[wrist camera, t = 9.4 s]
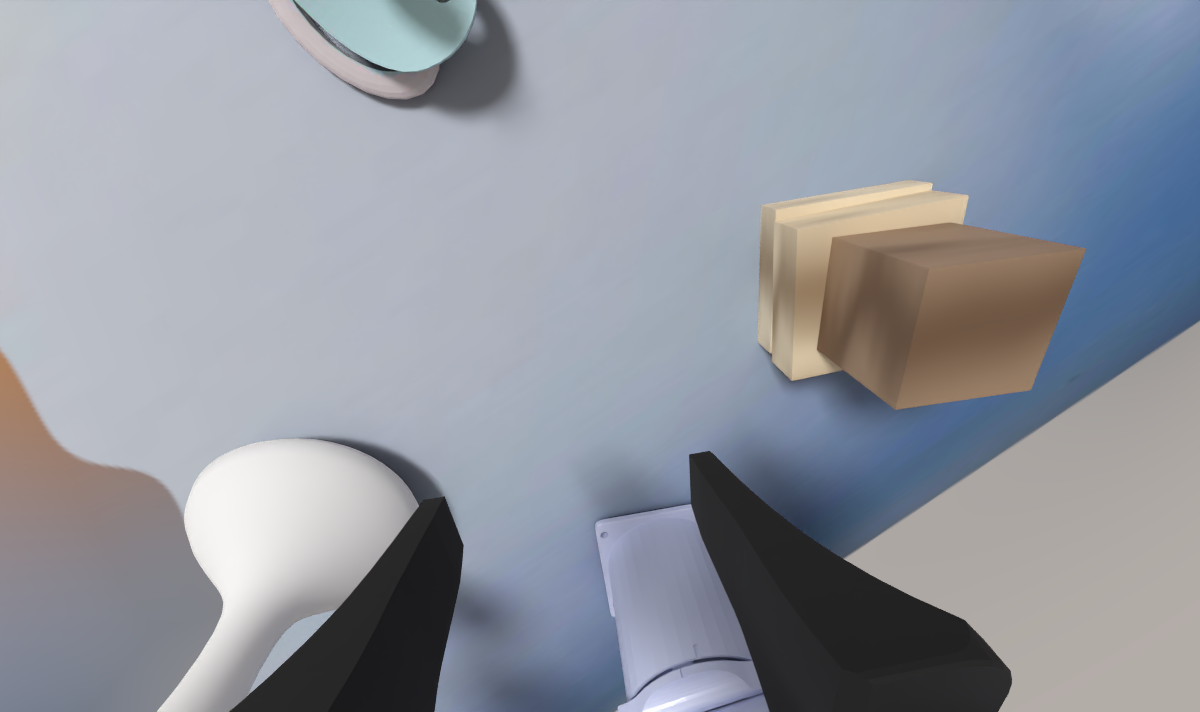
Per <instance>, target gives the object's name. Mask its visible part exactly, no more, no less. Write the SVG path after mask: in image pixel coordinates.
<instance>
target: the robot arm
mask: <svg viewBox="0 0 1200 712" xmlns="http://www.w3.org/2000/svg"><path fill="white" fill-rule="evenodd" d="M689 462H690V487H691V504H688V505H682V506H676V507H671V508H665V509H659V510H654V511H648V512H642V513H637V514H631V515H625V516H620V517H614V518H608V519H603V520H599V521H598V522H596V524H595V531H596V536H597V542H598V547H599V552H600V558H601V563H602V569H603V574H604V580H605V585H606V590H607V596H608V601H609V607H610V612H611V615H612V616H613V617H615V618H616V625H617V632H618V639H619V646H620V653H621V660H622V667H623V674H624V681H625V688H626V695H627V703H624V704H622V705H619V706H618V712H998V711H999V709H1000V707H1001V705H1002V704H1003V702H1004V700H1005V698H1006V697H1007V695H1008V693H1009V690H1010V687H1011V684H1012V677H1011V671H1010V670H1009V668H1008V667H1007V666H1006V665H1005V664H1004V663H1003V662H1002V660H1001V659H1000V658H999V657H998V656H997V655H996V653H995V652H994V651H993V650H992V649H991V647H990V646H989V645H988V644H987V643H986V642H985V641H984V639H983V638H982V637H981V636H980V635H979V634H978V633H977V632H976V631H975V630H973V628H972V627H971V626H970V625H969V624H968V623H967V622H966V621H965V620H963V619H961V618H959V617H957V616H954V615H952V614H950V613H948V612H946V611H943V610H941V609H939V608H937V607H934V606H932V605H930V604H928V603H925V602H923V601H921V600H919V599H916V598H914V597H912V596H910V595H908V594H906V593H904V592H902V591H900V590H898V589H896V588H894V587H892V586H891V585H888V584H887V583H885V582H883V581H881V580H879V579H877V578H875V577H873V576H871V575H870V574H868V573H866V572H865V571H863V570H861V569H859V568H858V567H856V566H854V565H853V564H851V563H849V562H847V561H846V560H844V559H842V558H841V557H839V556H837V555H836V554H834V553H833V552H831V551H829V550H828V549H826V548H825V547H823V546H822V545H820V544H819V543H817V542H816V541H814V540H813V539H811V538H810V537H809V536H807V535H806V534H804V533H803V532H802V531H800V530H799V529H797V528H796V527H795V526H793V525H792V524H791V523H789V522H788V521H787V520H786V519H784V518H783V517H782V516H781V515H779V514H778V513H777V512H776V511H774V510H773V509H772V508H771V507H770V506H768V505H767V504H766V503H765V502H764V501H762V500H761V499H760V498H759V497H758V496H757V495H756V494H754V493H753V492H752V491H751V490H750V489H749V488H748V487H747V486H746V485H744V484H743V483H742V482H741V481H740V480H739V479H738V478H737V477H736V476H735V475H734V474H733V473H732V472H731V471H730V470H729V469H728V468H727V467H726V466H725V465H724V464H723V463H722V462H721V461H720V460H719V459H718V458H717V457H716V456H715V455H714V454H713V453H711V452H710V451H707V452H701V453H695V454H690V455H689ZM603 532H606V533H603ZM463 546H464V545H463V543H462V540H461V538H460V535H459V533H458V530H457V527H456V525H455V522H454V520H453V517H452V515H451V512H450V510H449V507H448V504H447V502H446V499H445V497H440V498H434V499H428V500H423V502H422V503H421V504H420V505H419V507H418V508H417V509H416V511H415V512H414V513H413V515H412V516H411V517H410V519H409V520H408V521H407V523H406V524H405V525H404V527H403V528H402V529H401V531H400V532H399V534H398V535H397V536H396V538H395V539H394V540H393V542H392V543H391V544H390V546H389V547H388V548H387V549H386V551H385V552H384V553H383V555H382V556H381V557H380V558H379V560H378V561H377V562H376V564H375V565H374V566H373V567H372V569H371V570H370V571H369V572H368V574H367V575H366V576H365V577H364V578H363V580H362V581H361V582H360V583H359V584H358V586H357V587H356V588H355V589H354V590H353V592H352V593H351V594H350V595H349V596H348V598H347V599H346V600H345V601H344V602H343V603H342V604H341V606H340V607H339V608H338V609H337V610H336V611H335V612H334V613H333V614H332V615H331V617H330V618H329V619H328V620H327V621H326V622H325V623H324V624H323V625H322V626H321V627H320V628H319V629H318V630H317V631H316V632H315V633H314V634H313V635H312V636H311V637H310V638H309V639H308V640H307V641H306V642H305V643H304V644H303V645H302V646H301V647H300V648H299V649H298V650H297V651H296V652H295V653H294V654H293V655H292V656H291V657H290V658H289V659H287V660H286V661H285V662H284V663H283V664H282V665H281V666H280V667H279V668H278V669H277V670H276V671H275V672H274V673H273V674H272V675H271V676H270V677H268V678H267V679H266V680H265V681H264V682H263V683H262V684H261V685H259V686H258V687H257V688H256V689H255V690H254V691H253V692H251V693H250V694H249V695H248V696H247V697H246V698H245V699H243V700H242V701H241V702H240V703H239V704H238V705H236V706H235V707H234V708H233V709H232V710H230V711H229V712H434V711H435V703H436V695H437V688H438V682H439V676H440V671H441V666H442V661H443V657H444V652H445V648H446V643H447V639H448V634H449V630H450V626H451V621H452V617H453V612H454V608H455V603H456V598H457V594H458V589H459V584H460V578H461V569H462V558H463Z"/></svg>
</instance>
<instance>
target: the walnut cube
mask: <svg viewBox="0 0 1200 712" xmlns="http://www.w3.org/2000/svg"><path fill="white" fill-rule="evenodd" d="M1085 251H1086V248H1081V247H1076V246H1071V245H1065V244H1060V243H1055V242H1050V241H1045V240H1040V239H1034V238H1029V237H1024V236H1019V235H1014V234H1008V233H1003V232H998V231H993V230H988V229H983V228H977V227H972V226H967V225H962V224H957V223H951V222H950V223H942V224H934V225H926V226H917V227H909V228H901V229H894V230H886V231H878V232H870V233H862V234H854V235H846V236H838V237H832V243H831V250H830V257H829V264H828V271H827V278H826V285H825V292H824V300H823V307H822V314H821V322H820V329H819V337H818V344H817V350H818V351H819V352H821V353H822V354H823V355H825V356H826V357H827V358H829V359H830V360H831V361H832V362H834V363H835V364H836V365H838V366H839V367H840V368H842V369H843V370H844V371H845V372H847V373H848V374H849V375H851V376H852V377H853V378H855V379H856V380H857V381H859V382H860V383H861V384H862V385H864V386H865V387H866V388H868V389H869V390H870V391H872V392H873V393H874V394H876V395H877V396H878V397H879V398H881V399H882V400H883V401H885V402H886V403H887V404H889V405H890V406H891V407H893V408H894V409H895V410H897V409H904V408H911V407H918V406H925V405H932V404H938V403H945V402H952V401H959V400H966V399H973V398H980V397H986V396H993V395H1000V394H1007V393H1014V392H1021V391H1028V390H1031V388H1032V386H1033V383H1034V380H1035V378H1036V375H1037V373H1038V370H1039V368H1040V365H1041V363H1042V360H1043V358H1044V355H1045V353H1046V350H1047V347H1048V345H1049V342H1050V340H1051V337H1052V335H1053V332H1054V330H1055V327H1056V325H1057V322H1058V320H1059V317H1060V314H1061V312H1062V309H1063V307H1064V304H1065V302H1066V299H1067V297H1068V294H1069V292H1070V289H1071V287H1072V284H1073V281H1074V279H1075V276H1076V274H1077V271H1078V269H1079V266H1080V264H1081V261H1082V259H1083V256H1084V253H1085Z"/></svg>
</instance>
